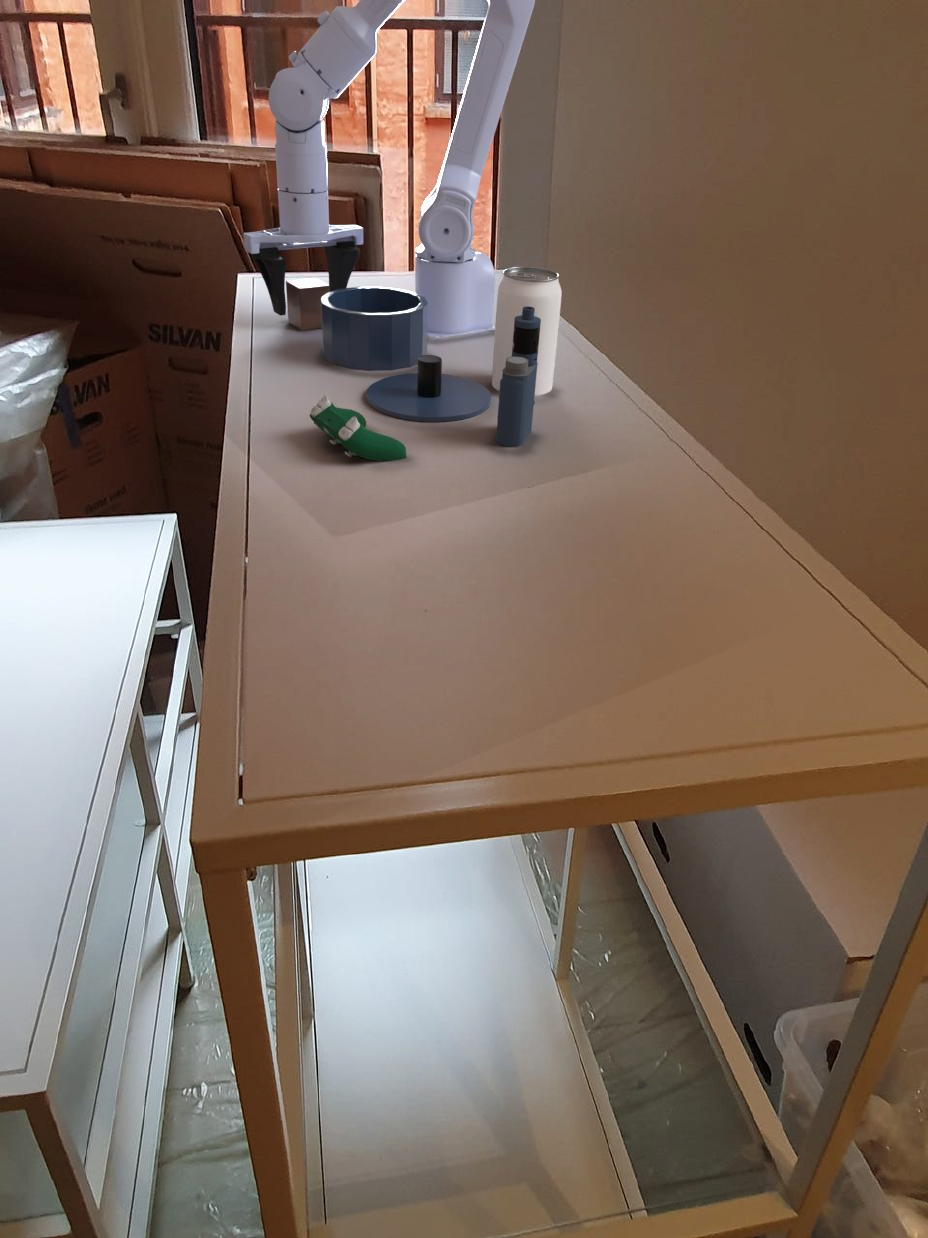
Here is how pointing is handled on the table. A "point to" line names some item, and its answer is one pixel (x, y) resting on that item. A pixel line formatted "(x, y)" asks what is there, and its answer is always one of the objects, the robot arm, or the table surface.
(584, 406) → the table surface
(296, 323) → the block
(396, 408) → the lid
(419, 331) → the tin
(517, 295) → the can
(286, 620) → the table surface
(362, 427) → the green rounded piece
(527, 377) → the vaping device
